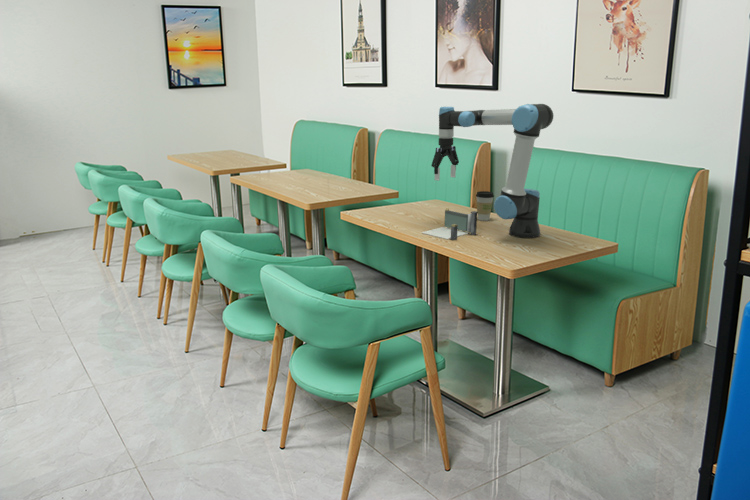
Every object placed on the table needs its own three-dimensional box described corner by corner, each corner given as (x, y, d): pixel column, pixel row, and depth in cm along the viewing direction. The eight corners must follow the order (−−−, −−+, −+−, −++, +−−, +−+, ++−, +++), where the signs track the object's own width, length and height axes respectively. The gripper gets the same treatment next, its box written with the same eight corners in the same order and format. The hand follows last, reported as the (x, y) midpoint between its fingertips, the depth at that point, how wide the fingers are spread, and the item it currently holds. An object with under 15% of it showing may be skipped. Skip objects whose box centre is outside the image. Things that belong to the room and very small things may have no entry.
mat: (469, 233, 311) (469, 232, 311) (447, 239, 300) (447, 238, 300) (442, 227, 323) (442, 226, 323) (421, 233, 312) (421, 232, 312)
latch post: (456, 239, 301) (457, 224, 299) (453, 240, 299) (454, 225, 297) (454, 238, 302) (454, 223, 300) (450, 239, 300) (451, 224, 298)
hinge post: (476, 234, 310) (478, 211, 306) (473, 235, 308) (474, 212, 305) (472, 233, 311) (473, 211, 308) (469, 234, 310) (470, 211, 307)
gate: (471, 231, 311) (472, 212, 309) (469, 232, 310) (470, 213, 307) (446, 226, 323) (447, 207, 320) (444, 226, 321) (444, 208, 319)
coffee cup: (492, 222, 336) (494, 194, 332) (474, 221, 338) (475, 193, 334) (492, 218, 346) (494, 191, 341) (474, 217, 347) (476, 190, 343)
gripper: (454, 135, 329) (453, 175, 335) (424, 138, 312) (424, 180, 317) (466, 136, 324) (465, 176, 330) (436, 139, 307) (435, 182, 312)
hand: (445, 178), depth 324 cm, fingers open, 13 cm apart
